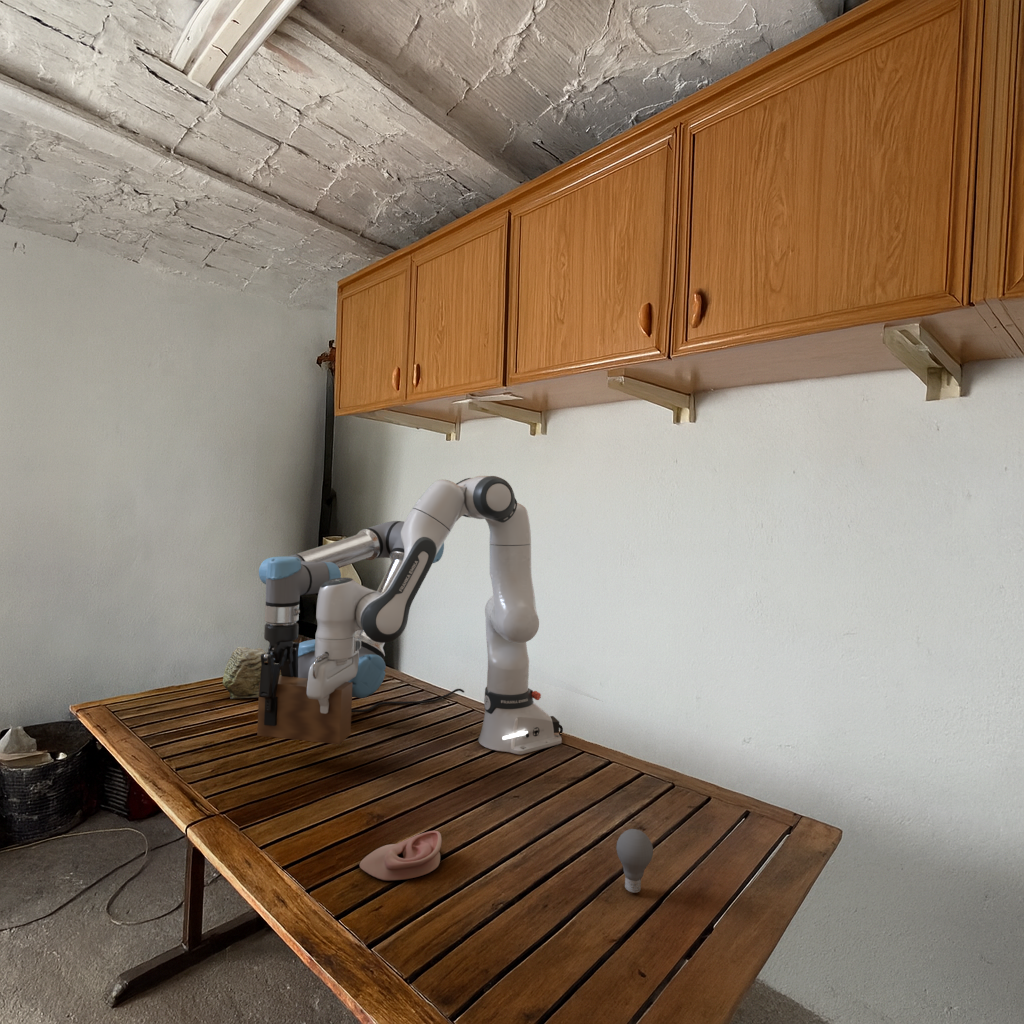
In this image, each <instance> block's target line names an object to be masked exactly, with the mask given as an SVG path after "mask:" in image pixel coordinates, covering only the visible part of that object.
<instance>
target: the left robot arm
mask: <svg viewBox="0 0 1024 1024" xmlns="http://www.w3.org/2000/svg"><path fill="white" fill-rule="evenodd" d="M404 522H405V520H404V521H402V520H391V521H386V522H383V523H379V524H376V525H373V526H370V527H366V528H363V529H361V530H359V531H358V532H357V534H355V535H351V536H348V537H346V538H343V539H340V540H336V541H332V542H330V543H326V544H323V545H320V546H317V547H313V548H311V549H307V550H304V551H300V552H298V553H294V554H290V555H287V556H272V557H267V558H265V559H264V560H263V561H262V562H261V564H260V565H259V568H258V577H259V579H260V581H261V582H262V584H263V585H265V608H264V623H265V624H264V632H263V638H264V640H265V641H267V642H268V643H269V644H268V648H267V652H265V653H266V654H261V676H260V689H259V697H264V698H265V714H264V725H269V726H276V725H277V703H278V697H275V696H276V691H277V686H278V681H279V675H280V672H281V676H286V677H298V678H308V674H309V669H310V667H311V665H312V664H313V663H314V662H315V659H316V657H315V639H308V640H304V641H302V642H295V640H297V639H298V638H299V623H298V621H299V616H300V615H299V614H301V610H300V598H301V596H305V595H314V594H318V593H319V590H320V587H321V585H322V584H323V583H324V582H326V581H328V580H331V579H336V578H342V573H341V570H340V569H341V568H344V567H346V566H349V565H353V564H354V563H357V562H358V563H359V562H361V561H363V560H367V561H374V560H376V559H390V564H389V567H388V569H387V570H386V572H385V574H384V576H383V578H382V580H381V582H380V584H379V586H378V588H377V590H376V591H378V592H381V593H385V592H386V590H387V589H388V587H389V585H390V584H391V582H392V580H393V578H394V576H395V575H396V573H397V571H398V569H399V567H400V566H401V564H402V562H403V559H404V545H403V542H402V539H401V530H402V527H403V525H404ZM444 550H445V542H444V543H443V544H442V546H441V548H440V549H439V551H438V553H437V555H436V557H435V559H434V561H433V563H432V564H435V563H437V562H439V561H441V559H442V558H443V554H444ZM355 639H358V640H361V648H360V649H359V663H358V671H357V674H356V677H354V678H353V679H351V680H350V681H348V682H352V683H353V684H352V698H357V699H365V698H367V697H370V696H372V695H373V694H374V693H376V692H377V691H378V690H379V688H380V687H381V686H382V684H383V682H384V680H385V677H386V672H387V671H385V670H386V669H387V668H386V667H387V666H386V662H385V657H386V654H385V650H384V646H385V644H386V643H379V642H375V641H373V640H371V639H370V638H369V637H368V636H367V635H366V634H365V632H364V631H363V630H358V631H356V632H355ZM274 663H275V664H274ZM456 692H461V693H465V690H464V689H462V688H456V689H454V690H452V691H450V692H449V693H446V694H444V695H441V696H439V697H437V698H434V699H427V700H411V701H409V700H408V701H407V700H406V701H400V700H399V701H398V700H397V701H395V700H394V701H390V700H389V701H382V702H378V703H375V704H373V705H372V706H370V707H369V708H365V709H351V713H367V712H369V711H371V710H372V711H373V709H375V708H377V707H379V706H383V705H393V704H394V705H411V704H412V705H413V704H414V705H415V704H417V705H418V704H429V703H435V702H438V701H441V700H442V699H444V698H447V697H450V696H451V695H453V694H454V693H456ZM259 697H258V698H259Z"/></svg>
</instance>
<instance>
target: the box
mask: <svg viewBox="0 0 1024 1024" xmlns="http://www.w3.org/2000/svg"><path fill="white" fill-rule="evenodd" d="M307 682H308V678H298V677H294V676H293V677H286V676H279V681H278V686H277V691H276V696H275V697H278V703H277V725H276V726H269V725H264V714H265V698H264V697H258V702H257V703H258V705H257V731H256V733H257V734H256V735H257V736H259V737H266V738H267V737H268V738H277V739H287V740H294V741H305V742H314V743H323V744H332V745H341V744H342V743H343V742H344V741H345V740H346V739H347V738H349V737H350V736H351V731H352V712H351V710H353V706H352V705H353V703H352V702H353V697H352V684H353V683H352V682H345V683H344V684H342V685H341V686H339V687H338V688H336V689H335V691H334V692H332V693H331V694H329V699H328V702H329V704H330V711H329V712H328V713H326V714H325V713H321V712H320V704H319V701H318V700H316V699H309V698H308V696H307ZM259 689H260V682H259Z"/></svg>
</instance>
